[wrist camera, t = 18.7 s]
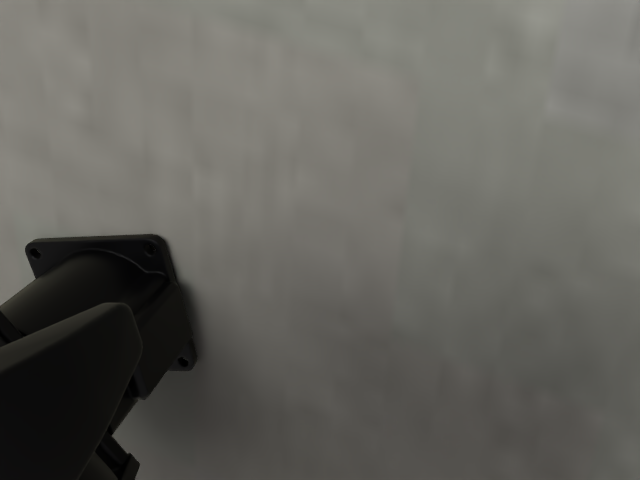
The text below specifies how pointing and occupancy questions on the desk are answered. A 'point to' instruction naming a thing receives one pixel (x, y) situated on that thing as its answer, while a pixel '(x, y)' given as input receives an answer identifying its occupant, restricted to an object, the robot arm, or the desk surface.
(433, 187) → the desk surface
